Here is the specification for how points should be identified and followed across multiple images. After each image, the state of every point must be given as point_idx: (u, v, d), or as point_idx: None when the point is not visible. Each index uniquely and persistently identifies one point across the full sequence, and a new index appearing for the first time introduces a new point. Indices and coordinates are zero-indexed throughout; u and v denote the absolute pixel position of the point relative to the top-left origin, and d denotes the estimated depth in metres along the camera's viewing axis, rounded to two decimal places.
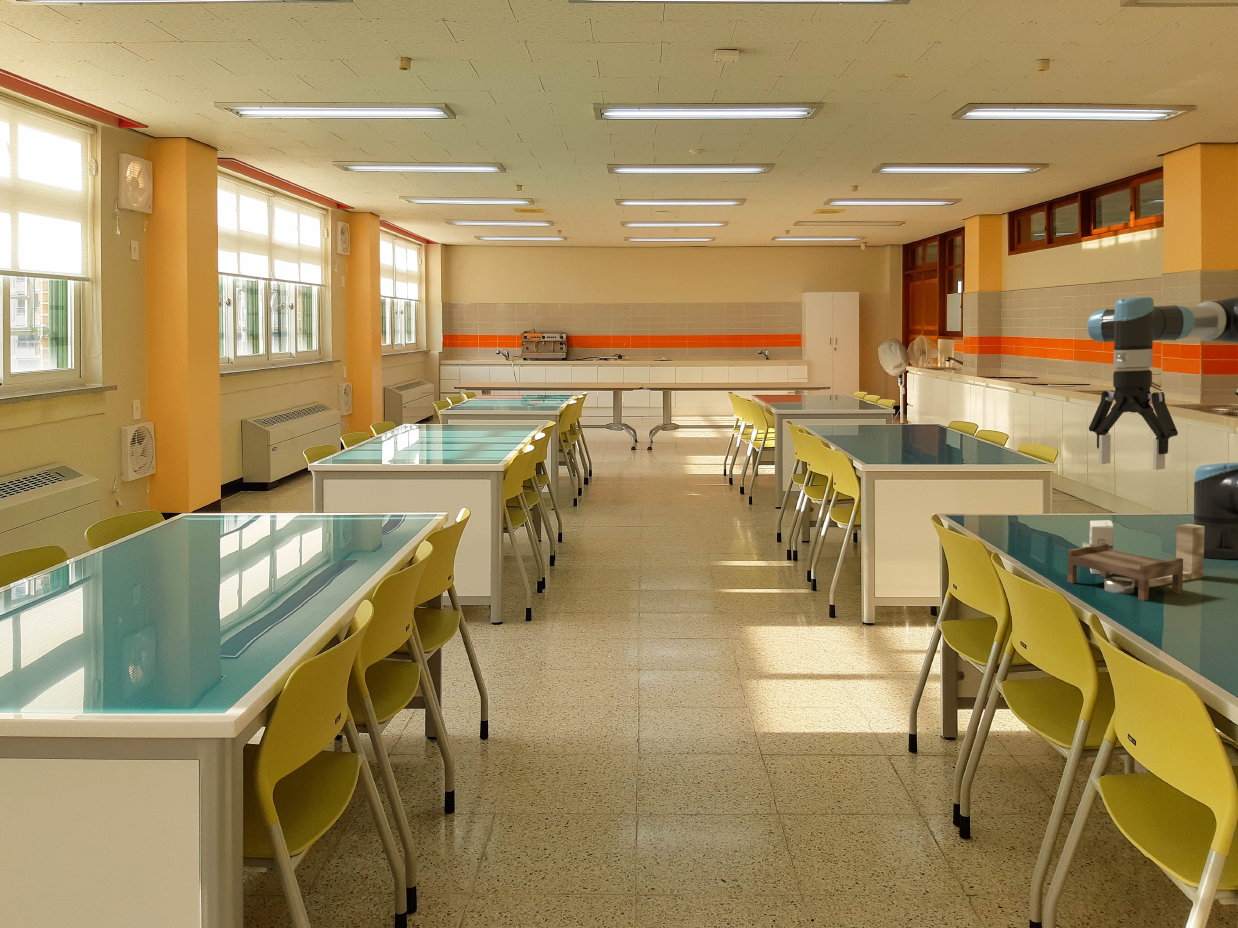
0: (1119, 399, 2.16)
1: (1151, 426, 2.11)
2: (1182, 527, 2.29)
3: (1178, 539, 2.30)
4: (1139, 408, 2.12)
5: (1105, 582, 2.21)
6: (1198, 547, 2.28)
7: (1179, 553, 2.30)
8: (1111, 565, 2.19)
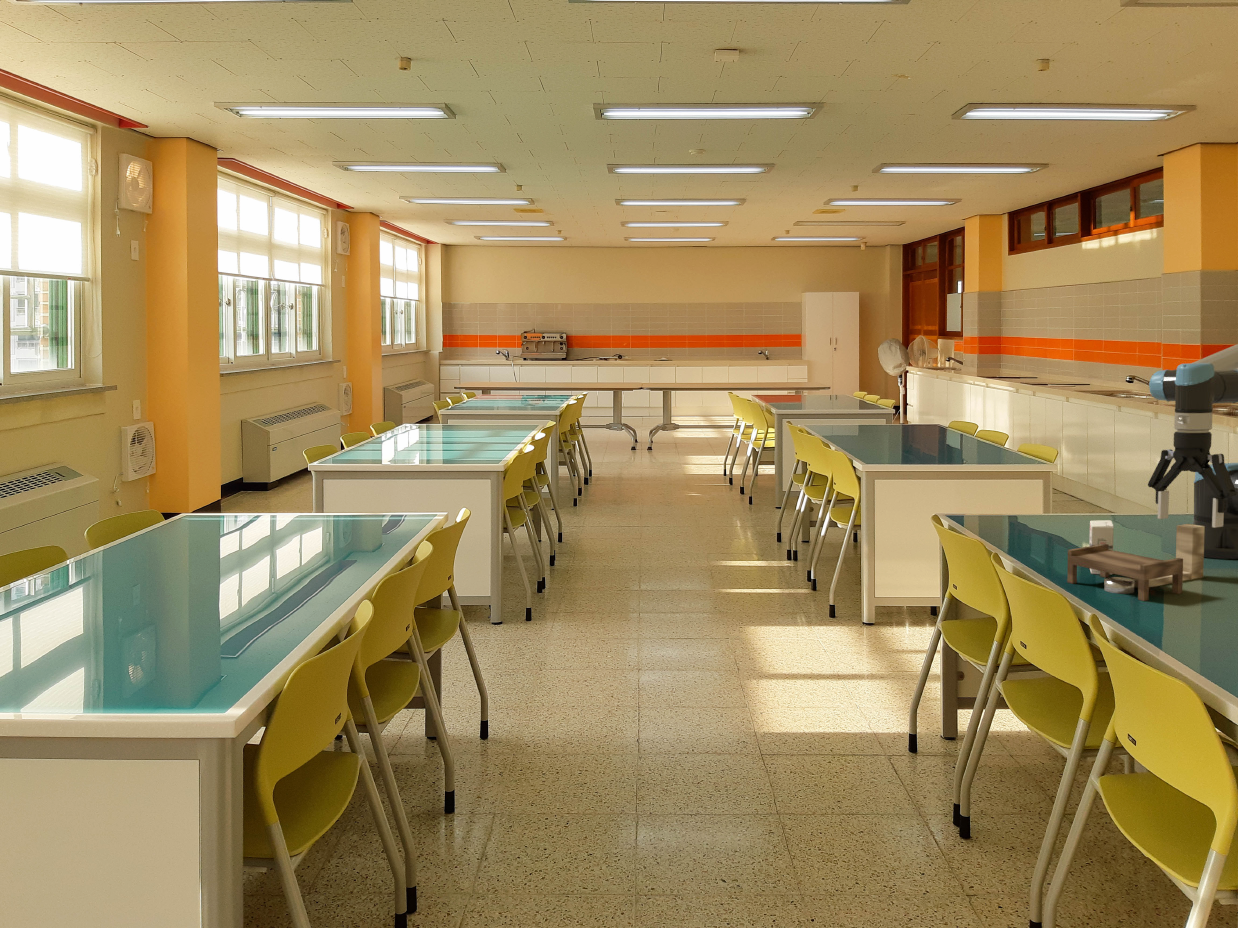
0: (1179, 458, 2.28)
1: (1210, 486, 2.22)
2: (1182, 527, 2.29)
3: (1178, 539, 2.30)
4: (1199, 468, 2.24)
5: (1105, 582, 2.21)
6: (1198, 547, 2.28)
7: (1179, 553, 2.30)
8: (1111, 565, 2.19)
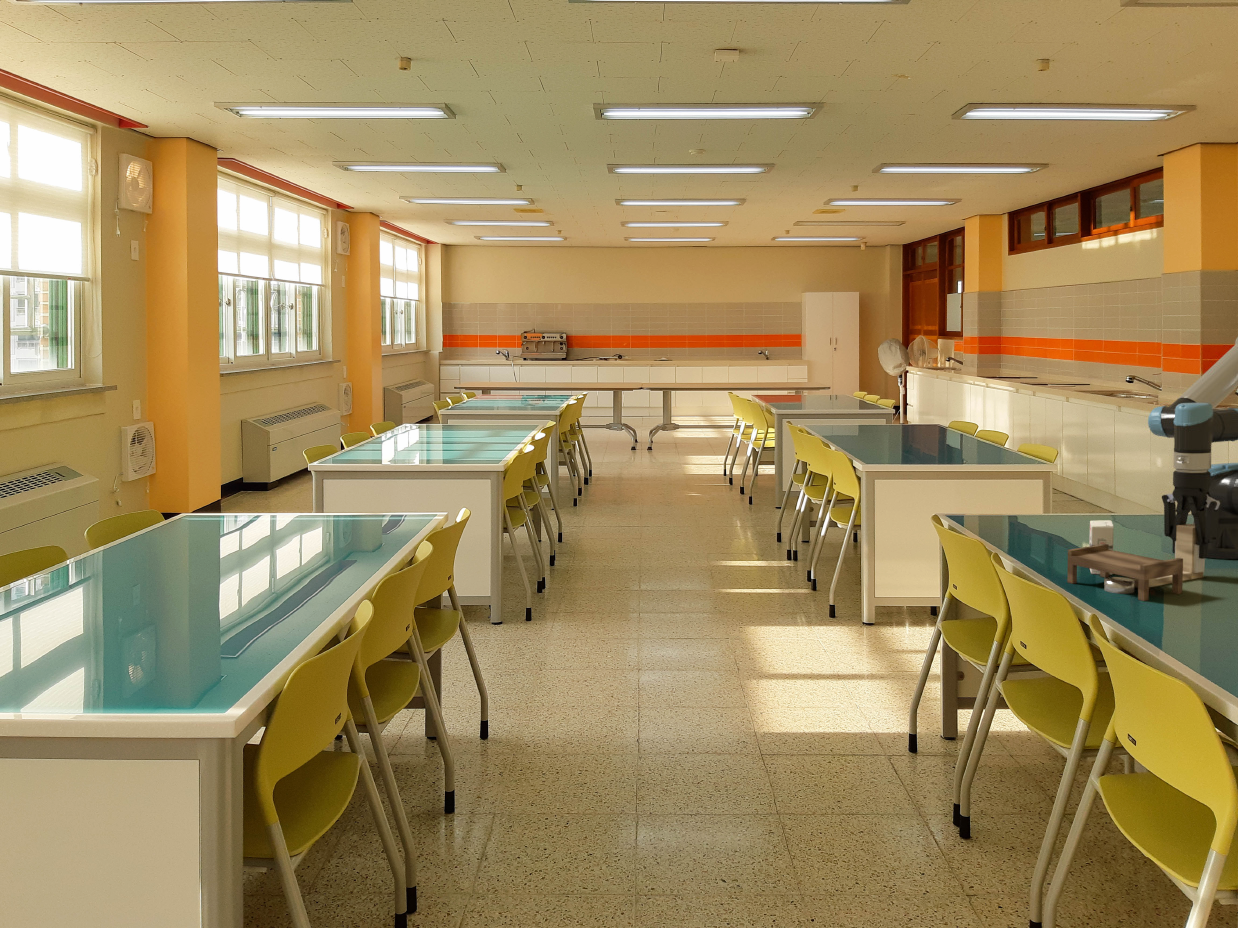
0: (1179, 498, 2.29)
1: (1196, 530, 2.27)
2: (1182, 527, 2.29)
3: (1178, 539, 2.30)
4: (1194, 510, 2.26)
5: (1105, 582, 2.21)
6: None
7: (1179, 553, 2.30)
8: (1111, 565, 2.19)
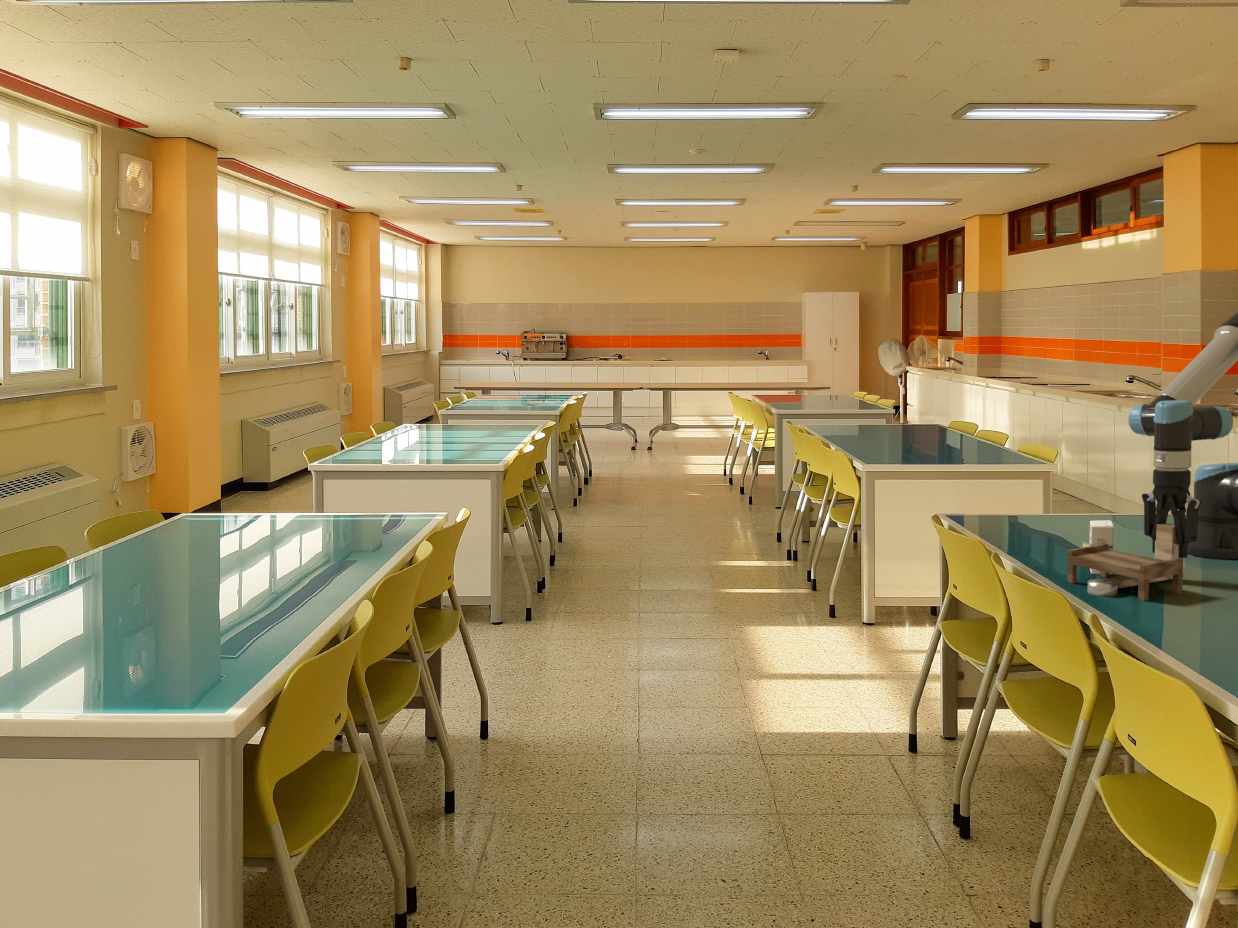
0: (1159, 497, 2.26)
1: (1176, 529, 2.24)
2: (1162, 526, 2.26)
3: (1158, 538, 2.27)
4: (1174, 509, 2.23)
5: (1088, 584, 2.20)
6: None
7: (1159, 552, 2.27)
8: (1111, 565, 2.19)
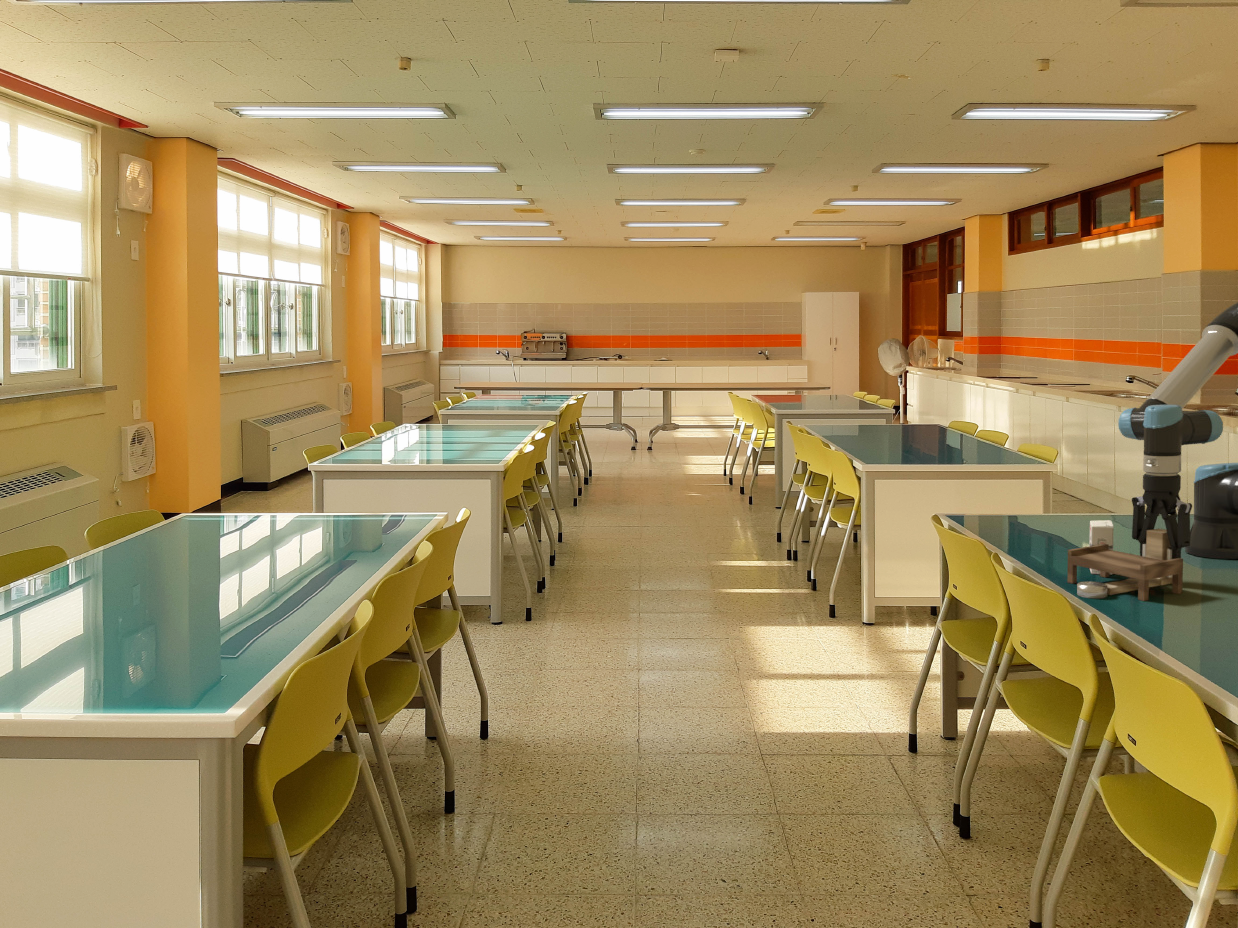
0: (1149, 502, 2.25)
1: (1168, 534, 2.22)
2: (1152, 532, 2.25)
3: (1148, 544, 2.26)
4: (1164, 514, 2.22)
5: (1077, 586, 2.19)
6: None
7: None
8: (1111, 565, 2.19)
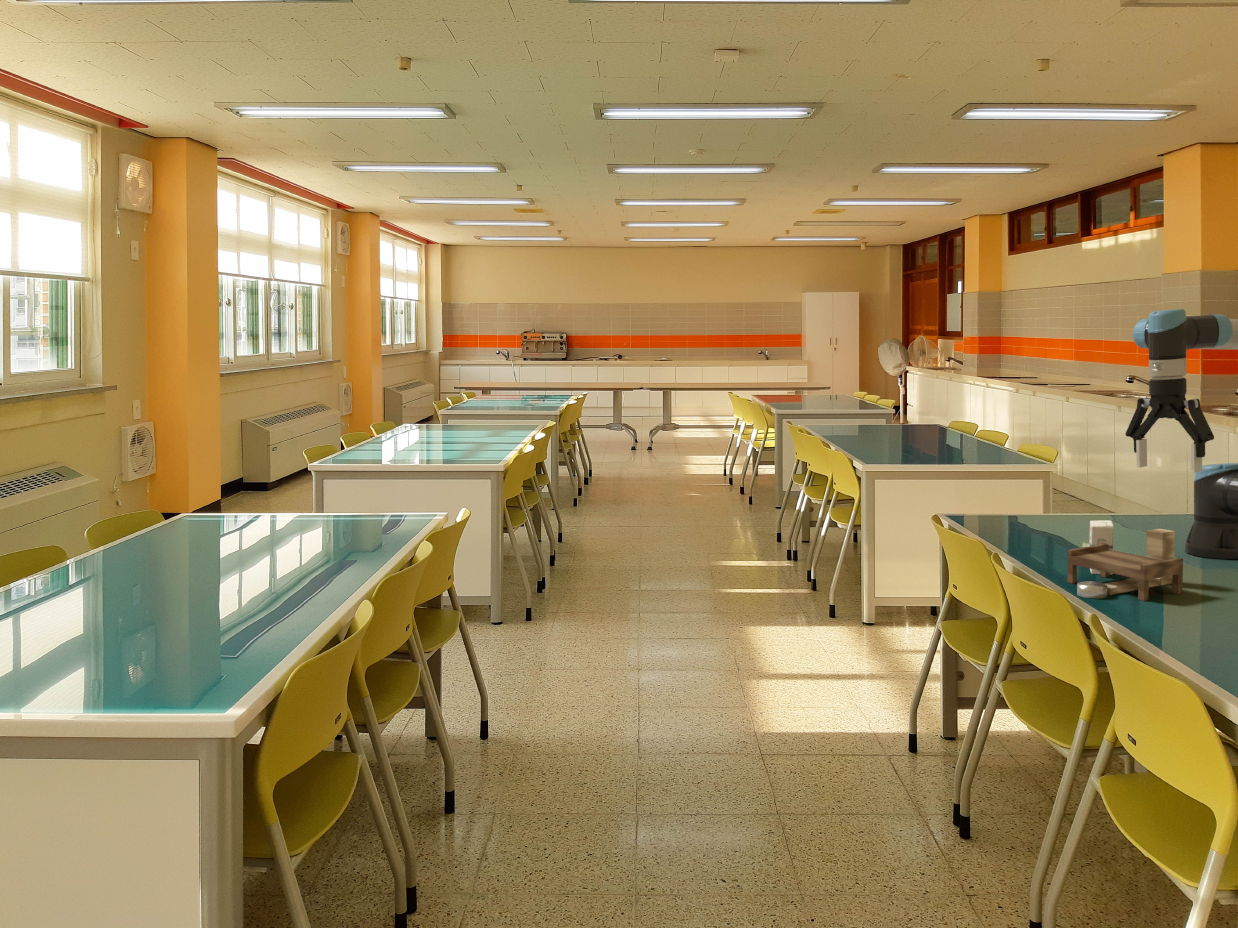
0: (1155, 406, 2.28)
1: (1188, 432, 2.23)
2: (1152, 532, 2.25)
3: (1148, 544, 2.26)
4: (1176, 414, 2.24)
5: (1078, 586, 2.19)
6: (1168, 552, 2.24)
7: None
8: (1111, 565, 2.19)
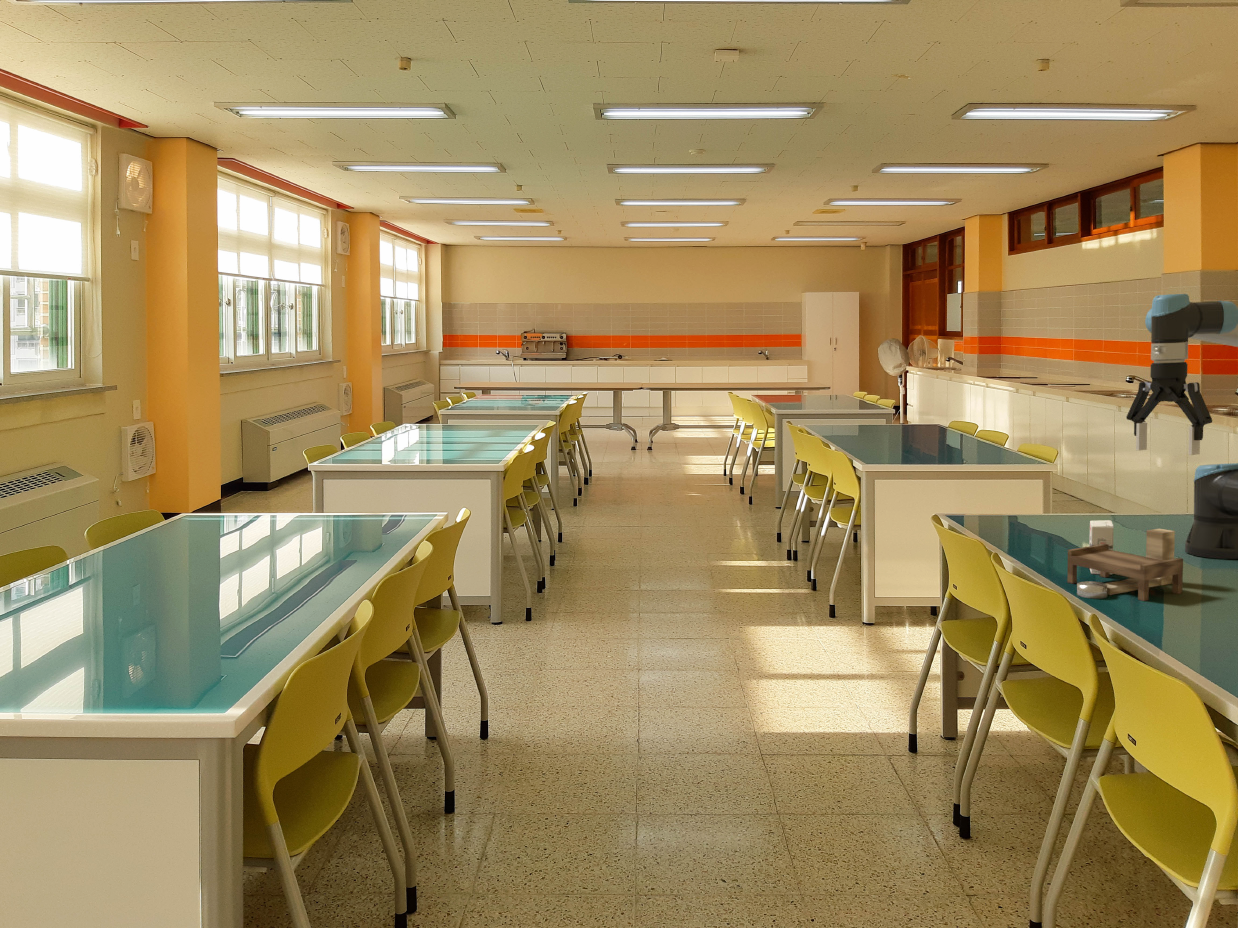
0: (1156, 389, 2.31)
1: (1187, 415, 2.26)
2: (1152, 532, 2.25)
3: (1148, 544, 2.26)
4: (1175, 397, 2.27)
5: (1078, 586, 2.19)
6: (1168, 552, 2.24)
7: None
8: (1111, 565, 2.19)
